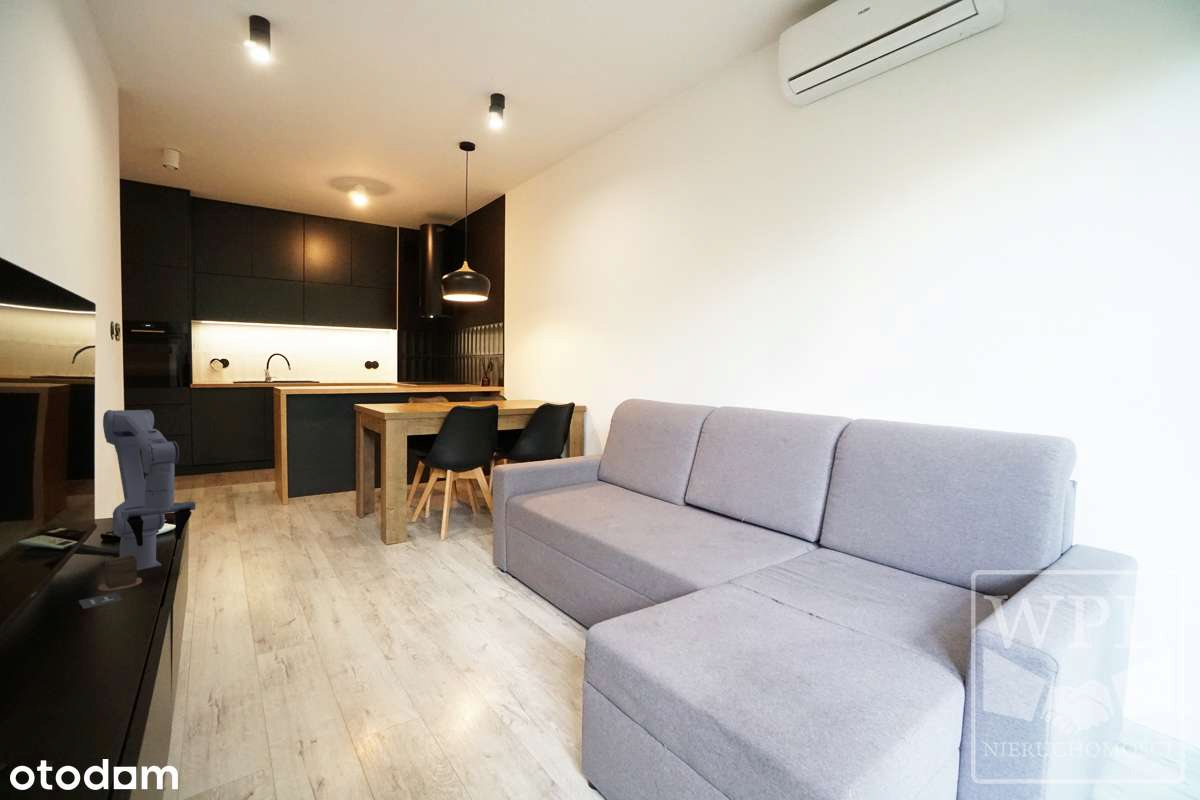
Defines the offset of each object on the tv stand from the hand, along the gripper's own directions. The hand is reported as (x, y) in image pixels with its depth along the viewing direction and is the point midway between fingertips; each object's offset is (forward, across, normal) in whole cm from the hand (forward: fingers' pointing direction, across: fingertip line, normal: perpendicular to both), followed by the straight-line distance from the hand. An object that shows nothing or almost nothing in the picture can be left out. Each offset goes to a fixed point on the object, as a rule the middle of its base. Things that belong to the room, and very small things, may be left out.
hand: (159, 541), depth 133 cm
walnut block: (+9, -7, +2) cm, 12 cm away
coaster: (+10, -7, +2) cm, 12 cm away
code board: (+10, -12, -6) cm, 17 cm away
